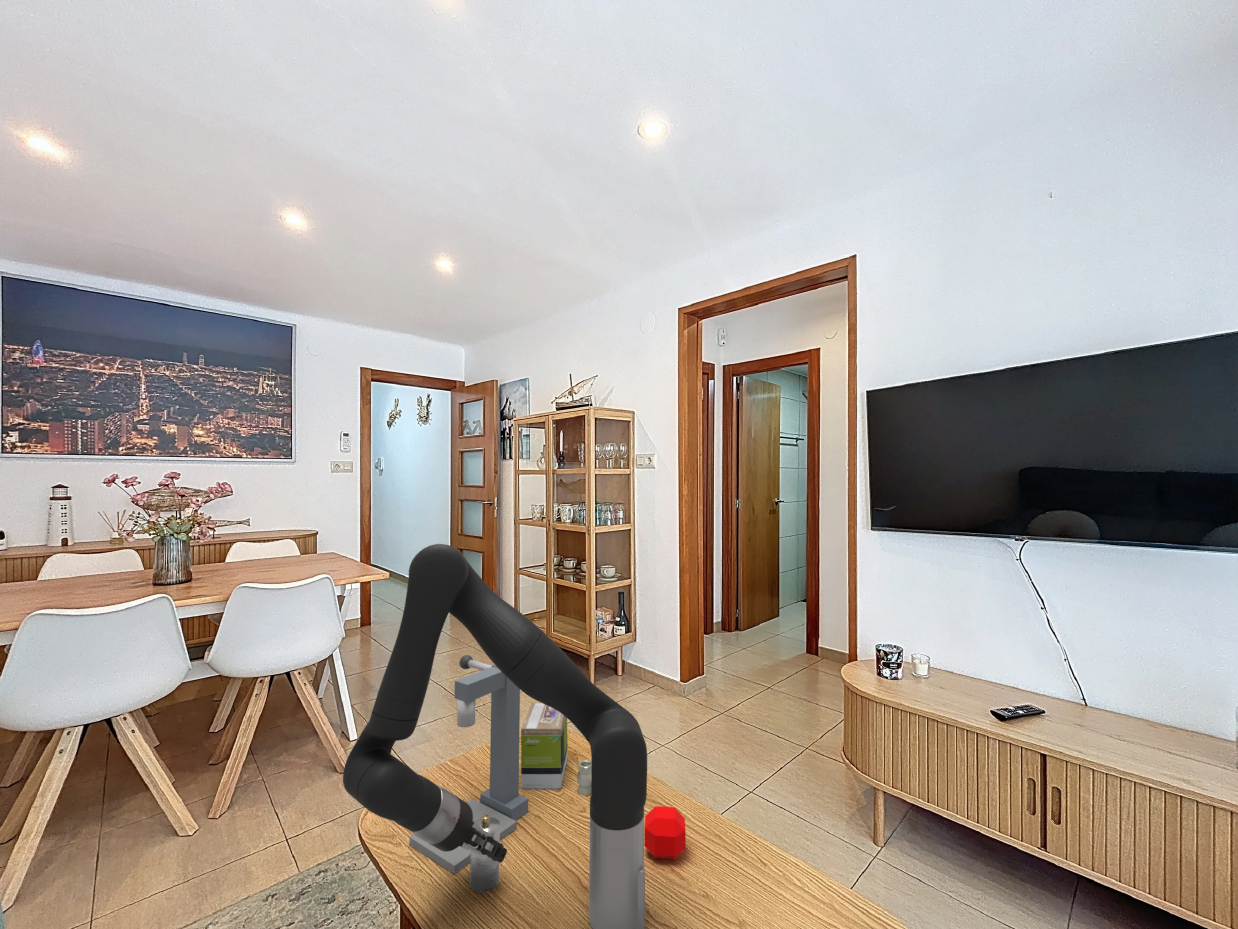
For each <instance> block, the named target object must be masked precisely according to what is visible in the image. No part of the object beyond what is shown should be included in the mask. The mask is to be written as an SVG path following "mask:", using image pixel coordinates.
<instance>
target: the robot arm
mask: <svg viewBox="0 0 1238 929" xmlns="http://www.w3.org/2000/svg"><path fill="white" fill-rule="evenodd" d="M406 588H407V589H406V595H405V602H404V607H403V608H404V609H403V613H402V617H401V621H400V626H399V629H398V632H397V637H396V639H395V642H394V645H393V648H392V651H391V655H390V657H389V659H388V662H387V665H386V668H385V672H384V674H383V677H382V680H381V683H380V685H379V688H378V692H377V695H376V697H375V701H374V705H373V707H372V710H371V713H370V714H371V715H370V718H369V720H368V722H367V723H366V725H365V727H364V728H363V730H362V731H361V733H360V735H359V737H358V739H357V740H356V742H355V744H354V746H353V747H352V749H351V751H350V752H349V754H348V756H347V759H346V761H345V764H344V768H343V773H342V783H343V789H345V791H346V793H347V794H349V796H351V797H352V798H353V799H354V800H355V801H357V802H358V803H359V804H360V805H361V806H362V807H363V808H364V809H366V810H367V811H369V812H371V813H373V814H374V815H376V816H379V817H380V818H382V819H385V820H389V821H393V822H394V823H395V824H397V825H399V826H401V827H402V828H404V829H406V830H407V831H410V832H411V834H412V835H415V836H416V837H418V838H420V839H421V840H423V841H425V842H427V843H428V844H430V845H432V846H434V847H436V848H437V849H439V850H441V851H444V852H448V851H452V850H454V849H456V848H457V847H459V846H461V847H462V848H464V849H466V850H471V851H473V852H474V853H476V854H478V855H482V854H483V855H487V857H488V858H492V860H493V861H498V862H499V864H501V863H503V861H504V860H505V858H506V855H507V854H508V849H507V848H505V845H504V844H503V843H501V842H500V843H499V842H498V841H496V840H494V839H493V837H491V834H490V833H488V832H486V831H485V830H483V829H481V828H480V825H478V824H477V823H475V822H473V813H472V809H471V807H470V806H469V804H467V803H466V802H467V801H464V800H463V799H461V798H460V797H458V796H457V795H456V794H454V793H452V792H451V791H449V790H448V789H447V788H444V787H442V786H439V785H437V784H436V783H434V781H431V780H430V779H429V778H427V777H425V776H423V775H421V774H418V773H417V772H416V771H415V770H414V769H412V768H411V767H410V766H408V765H407V764H405V763H404V762H403V761H401V760H400V759H398V758H397V757H396V756H394V755H393V754H391V752H392V749H393V748H394V745H395V743H396V741H398V742H399V741H403V740H406V739H408V738H410V737H411V736H412V735H413V734H414V732H415V729H416V727H417V725H418V722H419V717H420V714H421V712H422V708H423V704H424V701H425V698H426V694H427V691H428V687H429V684H430V680H431V676H432V675H431V674H432V670H433V665H434V661H435V660H434V659H435V657H436V656H435V655H436V651H437V648H438V644H439V640H440V637H441V633H442V631H443V629H444V628H443V627H444V625H445V623H446V620H447V617H448V615H449V614H450V615H451V616H453V617H454V618H455V619H457V621H459V622H460V623H461V624H462V625H463V627H465V628H466V630H467V631H469V633H470V634H471V636H472V637H473V638H474V640H475V641H476V642H477V644H478V646H479V647H480V648H481V650H482V651H483V653H485V655H486V656H487V657H488V658H489V660H490V661H491V662H492V663H493V665H494V664H495V665H496V666H497V668H498V669H499V670H500V671H501V672H502V673H503V674H504V675H505V676H506V677H507V678H508V679H509V680H510V681H512V682H513V683H514V684H515V685H516V686H517V687H518V688H519V689H520V692H523V693H524V694H525V695H527V696H528V697H530V698H531V699H532V700H535V701H536V702H538V703H543V704H545V705H547V706H549V707H551V708H553V709H555V710H557V711H559V712H560V713H562V714H563V715H564V716H565V717H566V718H567V720H569V721H570V723H572V725H573V726H574V727H575V728H576V729H577V730H578V731H579V733H580V734H582V736H583V737H584V738H585V740H586V741H587V743H588V745H589V747H590V754H591V755H590V756H591V760H590V761H591V764H592V766H591V794H590V798H589V854H588V855H589V864H588V865H589V866H588V867H589V868H588V869H589V870H588V871H589V873H588V874H589V875H588V878H589V881H588V922H589V925H590V926H591V929H646V918H645V917H646V913H645V912H646V869H645V846H644V840H645V805H646V801H647V795H648V794H647V793H648V791H647V790H648V788H647V786H648V751H647V750H648V749H647V743H646V740H645V737H644V734H643V731H642V728H641V726H640V724H639V722H638V720H637V718H635V716H634V715H633V714H632V713H631V712H630V711H628V709H626V708H625V707H623V705H621V704H619V703H618V702H617V701H615V700H614V699H613V698H612V697H610V696H609V695H608V694H606V693H605V692H604V691H602V690H601V689H600V688H599V687H598V686H596V685H595V683H593V681H591V680H590V679H589V678H588V677H587V676H586V675H585V673H583V671H582V670H581V668H579V666H577V664H576V663H575V662H574V661H573V660H572V659H571V658H570V657H569V656H568V655H567V654H566V653H565V652H564V651H563V650H562V649H561V648H560V647H559V646H558V644H556V643H555V642H554V640H552V638H550V636H548V635H547V634H546V633H545V632H544V631H543V630H542V629H541V628H540V627H539V626H538V625H536V623H534V622H533V621H531V619H529V618H528V617H527V616H526V615H524V614H523V613H521V612H520V611H519V610H518V609H516V608H515V607H514V606H512V605H511V604H510V603H508V602H507V601H505V600H503V599H502V597H500V596H499V595H498V594H496V592H495V591H494V590H492V588H491V587H490V586H488V585H487V583H486V582H485V580H483V579H482V578H481V576H480V575H479V574H478V573H477V571H475V569H474V568H473V567H472V565H471V564H470V563H469V562H468V560H467V559H466V557H465V555H464V554H463V553H462V552H461V551H460V550H459V549H457V548H456V547H454V546H453V545H449V544H445V543H444V544H443V543H437V544H431V545H428V546H425V547H424V548H422V549H421V550H420V551H419V552H418V553H416V554H415V556H414V557H413V559H412V560H411V562H410V564H409V568H408V581H407V587H406ZM477 830H478V831H477ZM480 832H481V833H482V834H483V838H482V834H481V833H480ZM468 844H469V845H468ZM478 844H479V846H478ZM470 845H471V846H473V847H476V846H478V848H476V849H475V848H473V847H471V846H470Z"/></svg>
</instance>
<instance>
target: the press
mask: <svg viewBox="0 0 1238 929" xmlns="http://www.w3.org/2000/svg"><path fill="white" fill-rule="evenodd" d="M459 666H460V668H461V669H463V670H469V669H475V670H478V672H475V673H472V674H469V675H466V676H464V677H462V678H459V679H455V680H454V699H455V700H457V708H456V710H457V712H456V713H457V714H456V715H457V716H456V725H457V727H458V728H470V727H472V726H474V725H475V723H476V700H477V699H480V698H482V697H484V696H487V695H489V694H490V695H491V696H490V740H489V741H490V742H489V744H490V747H489V748H490V749H489V751H490V755H489V788H487V789H486V790H483V792H481V793H480V794H479V795H480V796H479V798H480V799H479V800H480V801H478V800H476V799H475V798H471V799H469V800H468V801H465V802H466V803H467V804H469V806H470V807H471V809H472V813H473V822H475V821H476V820H478V819H480V818H482V816H483V815H489V817H493V818H496V819H498V820H499V822H500V841H501V840H503V839H504V838H506V837H507V836H509V835H510V834H512V833H513V832H514V831H515V830H517V828H518V827H517V825H518V823H517V821H518V820H520V818H522V817H523V816H525V815H526V814H527V813H529V798H528V797H526V796H524V795H522V794H521V793H519V791H520V790H519V788H520V785H519V784H520V783H519V782H520V779H519V778H520V775H519V774H520V730H521V727H520V726H521V725H520V724H521V721H520V720H521V718H520V717H521V716H520V715H521V714H520V712H521V709H520V708H521V706H520V705H521V690H520V689H519V688H518V687H517V686H516V685H515V684H514V683H513V682H512V681H510V680H509V679H508V678H507V677H506V676H505V675H504V674H503V673H502V672H501V671H500V670H499V669H498V668H497V666H496V665H495V664H494V663H493V664H492V665H490V664H487V663H483V662H481V661H477V660H474V658H473V656H472V655H468V654H465V655H463V656H461V657H460V659H459ZM468 845H469V844H468ZM409 846H411V847H412V848H414V850H416V851H418V852H419V853H421V854H423V855H425V856H426V857H428V858H429V859H430V860H432V861H433V862H435V863H436V864H438V865H440V866H441V867H443V868H444V869H445V870H447V871H449V872H451V873H452V874H453V875H455V874H457V873H459V872H460V871H461V870H462V869H463V868H465V867H467V865H470V850H466V849H464V848H462V847H461V846H459V847H457V848H456V849H454V850H452V851H448V852H444V851H441V850H439V849H437V848H436V847H434V846H432V845H430V844H428V843H427V842H425V841H423V840H421V839H420V838H418V837H416V836H415V835H414V834H412V835H411V836H409Z"/></svg>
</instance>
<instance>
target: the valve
mask: <svg viewBox="0 0 1238 929" xmlns="http://www.w3.org/2000/svg"><path fill="white" fill-rule="evenodd" d="M591 766H592V764H591V760H590V759H583V760H580V761H579V762H578V772H577V774H576V775H577V776H576V781H577V784H578V795H580V794H581V796H584V795H585V796H584V797H587V795H588V796H591Z"/></svg>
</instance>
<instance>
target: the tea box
mask: <svg viewBox="0 0 1238 929" xmlns="http://www.w3.org/2000/svg"><path fill="white" fill-rule="evenodd" d="M568 750H569V746H568V718H566V717H565V716H564V715H563V714H562V713H560V712H559V711H557V710H555V709H553V708H551V707H549V706H547V705H545V704H543V703H541V702H538V703H536V702H531V704H530V706H529V708H528V711H527V714H526V717H525V719H524V721H523V724H522V727H520V783H521V784H520V785H521V786H520V788H521V789H522V790H524V789H525V790H560V789H562V786H563V781H564V776H565V771H566V767H567V762H568V755H569V754H568Z"/></svg>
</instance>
